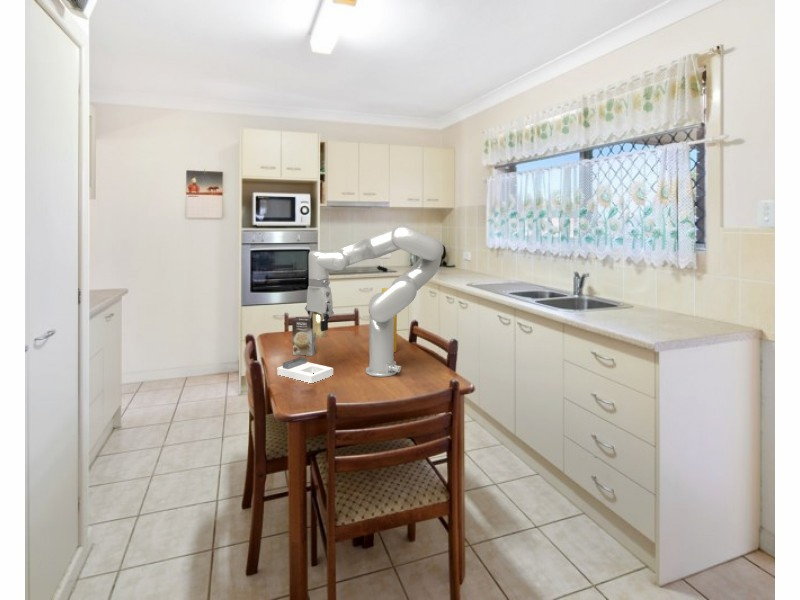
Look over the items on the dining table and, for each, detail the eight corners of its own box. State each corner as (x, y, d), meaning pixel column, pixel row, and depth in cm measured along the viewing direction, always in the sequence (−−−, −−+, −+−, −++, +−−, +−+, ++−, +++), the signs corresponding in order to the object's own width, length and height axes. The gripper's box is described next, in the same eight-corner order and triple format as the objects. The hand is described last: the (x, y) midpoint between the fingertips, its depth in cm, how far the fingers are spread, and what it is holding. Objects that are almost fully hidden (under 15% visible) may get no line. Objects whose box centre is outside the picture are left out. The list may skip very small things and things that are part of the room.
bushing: (328, 336, 188) (328, 313, 187) (319, 338, 184) (319, 315, 183) (319, 333, 191) (319, 311, 190) (310, 336, 187) (309, 313, 186)
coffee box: (292, 355, 212) (291, 320, 210) (296, 351, 219) (295, 316, 216) (312, 356, 212) (311, 320, 209) (316, 352, 218) (315, 317, 215)
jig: (333, 375, 187) (333, 363, 186) (311, 384, 177) (311, 371, 176) (299, 367, 196) (299, 355, 195) (277, 375, 186) (276, 362, 186)
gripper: (341, 284, 182) (341, 331, 185) (310, 280, 192) (311, 324, 195) (327, 286, 176) (328, 334, 179) (296, 281, 186) (296, 327, 189)
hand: (319, 328), depth 187 cm, fingers closed on bushing, 5 cm apart
